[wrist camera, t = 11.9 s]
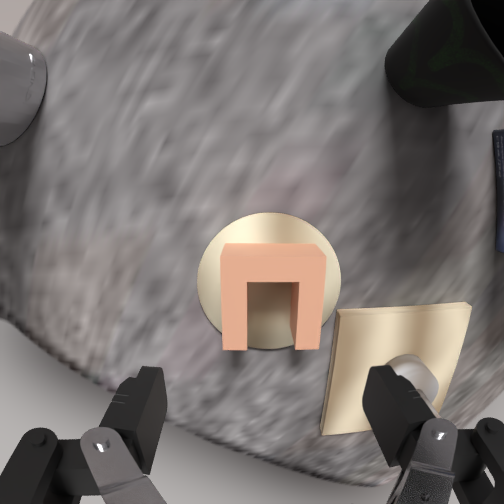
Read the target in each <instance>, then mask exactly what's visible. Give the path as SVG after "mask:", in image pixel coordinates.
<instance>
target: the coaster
mask: <svg viewBox="0 0 504 504" xmlns="http://www.w3.org/2000/svg"><path fill="white" fill-rule="evenodd" d="M225 243H294V244H316V245H317V246H318V247H319V248H320V250H321V251H322V252H323V253H324V254H325V255H326V256H327V259H326V274H325V288H324V300H323V312H322V323H321V326H322V325H323V324H324V323H325V322H326V321H327V319H328V318H329V316H330V315H331V313H332V312H333V310H334V308H335V305H336V303H337V300H338V297H339V293H340V286H341V274H340V267H339V263H338V259H337V257H336V254H335V252H334V250H333V248H332V247H331V245H330V243H329V242H328V241H327V239H326V238H325V237H324V236H323V235H322V234H321V233H320V232H319V231H318V230H317V229H316V228H315V227H313V226H312V225H310V224H309V223H307V222H305V221H304V220H302V219H300V218H297V217H294V216H291V215H288V214H283V213H274V212H266V213H257V214H252V215H249V216H246V217H243V218H240V219H238V220H236V221H234V222H232V223H231V224H229V225H228V226H226V227H225V228H224V229H223V230H221V231H220V232H219V233H218V234H217V235H216V236H215V237H214V239H213V240H212V241H211V242H210V244H209V246H208V247H207V249H206V250H205V252H204V254H203V257H202V259H201V262H200V265H199V269H198V276H197V288H198V295H199V299H200V303H201V305H202V308H203V310H204V312H205V314H206V315H207V317H208V319H209V320H210V321H211V323H212V324H213V325H214V326H215V327H216V328H217V329H218V330H219V331H220V332H221V333H222V311H221V277H220V255H221V253H222V250H223V247H224V245H225ZM291 288H292V282H248V337H247V346H249V347H253V348H259V349H277V348H282V347H287V346H290V345H294V342H293V338H292V333H291V329H290V309H291Z"/></svg>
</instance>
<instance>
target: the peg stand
mask: <svg viewBox="0 0 504 504" xmlns="http://www.w3.org/2000/svg"><path fill="white" fill-rule="evenodd" d="M471 310H472V306H470V305H469V304H467V303H466V302H456V303H444V304H431V305H417V306H401V307H382V308H360V309H337V312H336V321H335V330H334V338H333V346H332V354H331V361H330V368H329V375H328V382H327V388H326V395H325V401H324V407H323V412H322V418H321V424H320V429H321V433H322V436H323V435H334V434H343V433H352V432H360V431H367V430H372V428H371V426H370V424H369V422H368V419H367V417H366V415H365V413H364V411H363V407H362V396H363V392H364V389H365V385H366V381H367V376H368V372H369V369H370V367H372V366H380V365H390V366H391V367H392V368H393V370H394V371H395V373H396V374H397V375H402V376H403V377H405V378H406V379H408V380H409V381H411V383H412V384H413V386H414V387H415V388H416V391H418V393H419V394H420V395H421V397H422V398H423V400H424V401H425V402H426V404H427V405H428V407H429V408H430V409H431V411H432V412H433V414H434V415H435V417H436V418H441V417H440V415H439V411H440V409H441V406H442V404H443V401H444V399H445V396H446V393H447V391H448V388H449V385H450V382H451V379H452V376H453V373H454V370H455V367H456V364H457V361H458V358H459V355H460V351H461V348H462V345H463V341H464V337H465V334H466V330H467V326H468V322H469V318H470V314H471Z"/></svg>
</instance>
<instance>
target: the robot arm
mask: <svg viewBox="0 0 504 504" xmlns="http://www.w3.org/2000/svg"><path fill="white" fill-rule="evenodd" d="M46 73H47V71H46V64H45V60H44V58H43V55H42V54H41V53H40V51H39V50H38V49H36V48H35V47H33V46H31V45H29V44H27V43H25V42H22V41H20V40H18V39H16V38H14V37H12V36H10V35H8V34H6V33H4V32H2V31H0V146H3V145H7V144H9V143H11V142H12V141H14V140H15V139H17V138H18V137H19V136H20V135H21V134H22V133H23V132H24V131H25V130H26V128H27V127H28V126H29V125H30V123H31V121H32V120H33V118H34V117H35V115H36V113H37V110H38V108H39V106H40V104H41V101H42V98H43V95H44V90H45V85H46ZM362 407H363V411H364V413H365V415H366V417H367V419H368V422H369V424H370V426H371V428H372V430H373V432H374V435H375V437H376V439H377V441H378V444H379V446H380V448H381V450H382V452H383V455H384V457H385V459H386V461H387V464H388V466H389V467H394V466H398V465H400V466H401V468H402V470H401V472H400V473H399V476H398V478H397V480H396V483H395V485H394V487H393V490H392V492H391V494H390V496H389V498H388V501H387V503H386V504H448V501H449V497H450V494H451V490H452V488H453V490H454V492H455V494H456V496H457V499H458V501H459V503H460V504H504V424H503V423H502V422H501V421H500V420H498V419H495V418H483V419H481V420H480V421H479V422H478V423H477V425H476V427H475V429H457V428H456V426H455V425H454V424H453V423H452V422H450V421H448V420H446V419H442V418H436V417H435V415H434V414H433V412H432V411H431V409H430V408H429V407H428V405H427V404H426V402H425V401H424V400H423V398H422V397H421V395H420V394H419V393H418V391H416V388H415V387H414V386H413V384H412V383H411V381H409V380H408V379H406V378H405V377H403V376H402V375H397V374H396V373H395V371H394V370H393V368H392V367H391V366H390V365H380V366H372V367H370V369H369V372H368V376H367V381H366V385H365V389H364V392H363V396H362ZM166 412H167V395H166V388H165V381H164V374H163V370H162V368H160V367H148V366H142V367H141V369H140V371H139V373H138V376H137V378H132V377H129V378H127V379H126V380H125V381H124V382H122V383H121V384H120V386H119V387H118V389H117V391H116V395H114V397H113V399H112V402H111V403H110V405H109V407H108V409H107V411H106V413H105V415H104V417H103V419H102V421H101V423H100V425H99V427H97V428H93V429H90V430H88V431H87V432H85V433H84V435H83V436H82V437H81V439H76V440H75V439H72V440H71V439H69V440H58V438H57V436H56V435H55V433H54V432H53V431H51V430H49V429H47V428H34V429H31V430H29V431H28V432H26V433H25V434H24V435H23V437H22V438H21V440H20V442H19V443H18V445H17V447H16V449H15V450H14V452H13V454H12V456H11V458H10V459H9V461H8V463H7V464H6V466H5V468H4V470H3V472H2V474H1V475H0V504H79V503H80V500H81V497H82V496H83V495H84V496H89V495H101V496H102V498H103V500H104V502H105V503H106V504H167V503H166V502H165V500H164V499H163V498H162V496H161V495H160V493H159V492H158V491H157V489H156V488H155V486H154V485H153V483H152V482H151V480H150V479H149V478H148V477H147V476H144V475H143V474H147V475H150V471H151V467H152V464H153V460H154V456H155V452H156V449H157V445H158V441H159V438H160V434H161V430H162V427H163V423H164V420H165V416H166ZM486 467H487V468H488V469H489V471H490V473H491V474H492V476H493V478H494V480H495V487H493V485H492V484H491V482H490V480H489V478H488V477H487V475H486V473H485V471H484V470H485V468H486Z"/></svg>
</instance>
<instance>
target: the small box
mask: <svg viewBox="0 0 504 504" xmlns="http://www.w3.org/2000/svg"><path fill="white" fill-rule="evenodd" d="M493 138H494V147H495V159H496V175H497V235H496V250H497V251H499V252H502V253H504V129H502V130H494V131H493Z"/></svg>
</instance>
